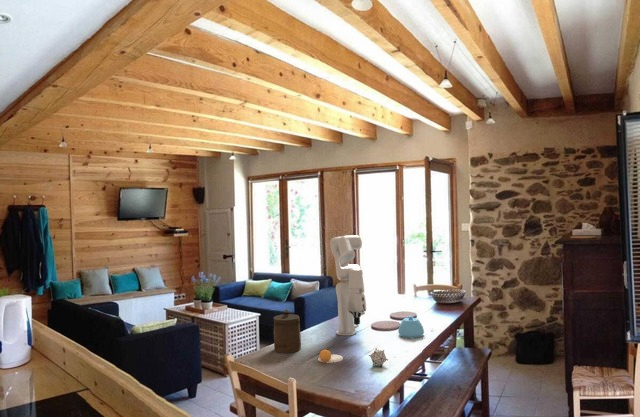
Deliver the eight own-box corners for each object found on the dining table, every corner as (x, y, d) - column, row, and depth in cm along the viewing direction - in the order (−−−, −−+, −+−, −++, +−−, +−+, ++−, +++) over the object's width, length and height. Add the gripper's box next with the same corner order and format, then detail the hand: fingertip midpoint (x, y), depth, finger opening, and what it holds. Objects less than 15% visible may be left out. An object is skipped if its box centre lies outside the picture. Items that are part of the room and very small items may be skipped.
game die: (378, 374, 236) (369, 361, 231) (371, 363, 243) (363, 350, 239) (393, 364, 236) (385, 351, 232) (386, 353, 244) (378, 340, 239)
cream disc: (330, 353, 260) (329, 352, 260) (348, 358, 251) (348, 357, 251) (312, 359, 251) (312, 358, 251) (331, 364, 242) (331, 364, 242)
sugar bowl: (424, 339, 281) (423, 319, 280) (398, 338, 284) (397, 319, 283) (423, 332, 295) (423, 313, 295) (399, 331, 298) (398, 313, 298)
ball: (315, 352, 246) (318, 363, 247) (325, 354, 242) (327, 365, 243) (323, 346, 250) (325, 356, 251) (332, 348, 246) (334, 358, 247)
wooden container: (287, 344, 280) (285, 306, 280) (306, 348, 271) (305, 309, 271) (268, 350, 269) (267, 311, 269) (288, 355, 259) (286, 314, 259)
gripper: (370, 291, 264) (371, 324, 264) (350, 288, 274) (351, 320, 274) (362, 293, 258) (363, 327, 258) (341, 290, 269) (342, 323, 269)
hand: (357, 324), depth 266 cm, fingers closed
